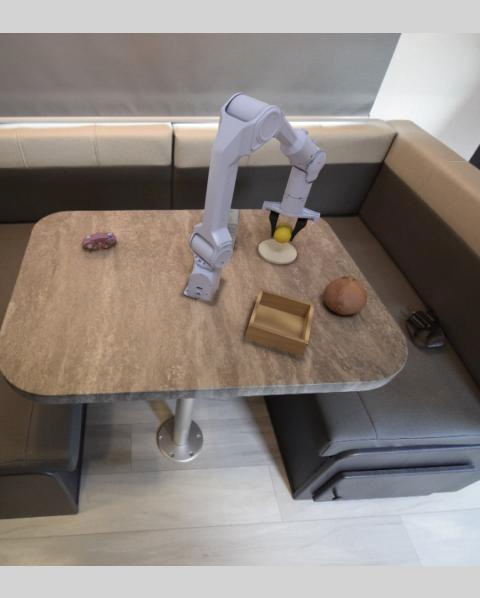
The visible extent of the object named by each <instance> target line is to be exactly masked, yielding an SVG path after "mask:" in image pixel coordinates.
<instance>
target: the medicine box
mask: <svg viewBox="0 0 480 598" xmlns="http://www.w3.org/2000/svg"><path fill="white" fill-rule="evenodd" d="M239 219H240V209H235V208H230V214H229V219H228V224H227V229H228V231H229V233H230V235H231V238H232V240H233V241H232V249H233V250H234V247H235V243H236V238H237V234H238V233H237V232H238V228H239Z"/></svg>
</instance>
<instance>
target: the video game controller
mask: <svg viewBox="0 0 480 598" xmlns="http://www.w3.org/2000/svg"><path fill="white" fill-rule="evenodd" d="M116 243H117V236H116V234H115V233H113V232H110V231H109V232H102V231H98V232H95V233H92V234H88V235H86V236H84V237H83V238H82V240H81V245H82V247H83V248H85V249H90V250H93V251H96V250H98V249H99V244H101V248H102V249H108V248H109V247H111V246H112V245H115V244H116Z"/></svg>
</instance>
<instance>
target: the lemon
mask: <svg viewBox="0 0 480 598" xmlns="http://www.w3.org/2000/svg"><path fill="white" fill-rule="evenodd" d="M293 230H294V228H293V226H292V225H291V224H290V223H289V222H286V221H284V222H280V223H279V224H277V225H276V229H275V232H274V236H273V239H275V240H276V242H278V243H281V244H283V243H286V242H287V243H289V242H290V241H289V240H290V238H291V235H292V232H293Z"/></svg>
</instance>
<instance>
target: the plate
mask: <svg viewBox="0 0 480 598" xmlns="http://www.w3.org/2000/svg"><path fill="white" fill-rule="evenodd" d="M257 247H258V248H257V253H258V255H259V256H260V257H261V258H262V259H263V260H264V261H266V262H269V263H271V264H274V265H275V264H276V265H288V264H291V263H293V262H294V261H296V258H297V256H298V252H297V249H296V247H295V246H293V245H292V244H291V243H289V242H286V243H283V244H281V243H278V242H276V240H275V239H274V238H269V239H264V240H262V241H261V242H260V243H259V244H258V246H257Z"/></svg>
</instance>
